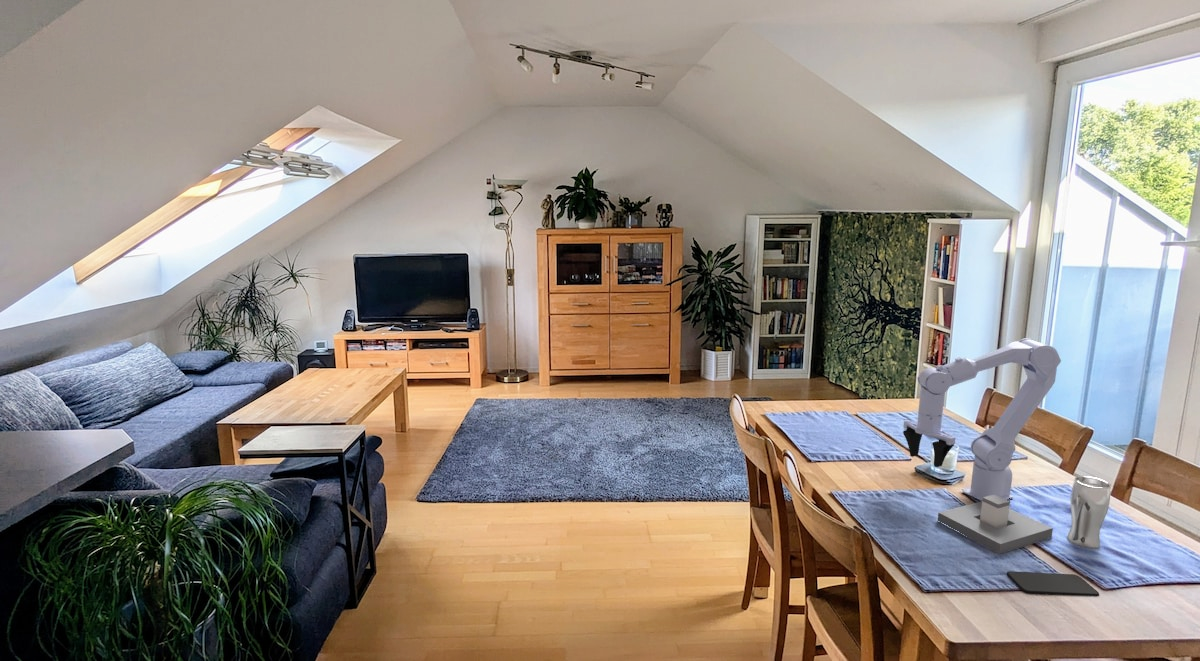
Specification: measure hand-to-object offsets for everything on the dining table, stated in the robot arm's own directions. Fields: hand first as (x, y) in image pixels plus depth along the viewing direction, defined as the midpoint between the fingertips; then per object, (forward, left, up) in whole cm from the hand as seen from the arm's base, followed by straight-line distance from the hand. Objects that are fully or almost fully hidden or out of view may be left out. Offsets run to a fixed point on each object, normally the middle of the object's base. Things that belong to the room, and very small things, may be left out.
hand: (925, 460), depth 168 cm
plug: (+1, +21, -9) cm, 23 cm away
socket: (+1, +21, -9) cm, 23 cm away
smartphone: (+11, +41, -10) cm, 44 cm away
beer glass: (-13, +33, -10) cm, 37 cm away
